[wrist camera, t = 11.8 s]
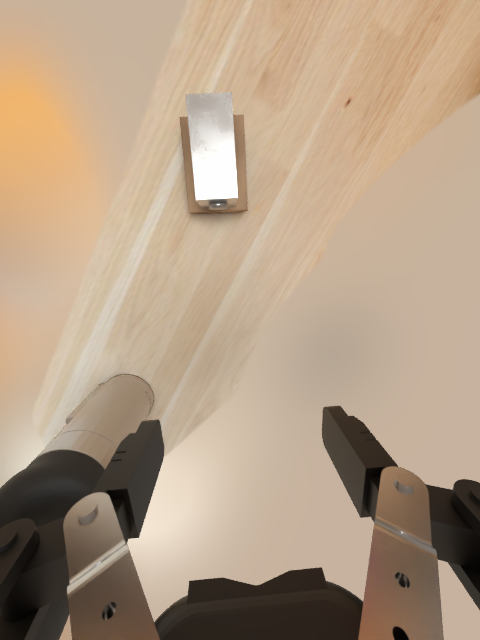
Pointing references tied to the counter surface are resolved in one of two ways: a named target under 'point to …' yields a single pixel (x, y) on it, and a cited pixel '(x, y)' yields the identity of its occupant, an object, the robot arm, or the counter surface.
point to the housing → (213, 149)
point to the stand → (240, 167)
